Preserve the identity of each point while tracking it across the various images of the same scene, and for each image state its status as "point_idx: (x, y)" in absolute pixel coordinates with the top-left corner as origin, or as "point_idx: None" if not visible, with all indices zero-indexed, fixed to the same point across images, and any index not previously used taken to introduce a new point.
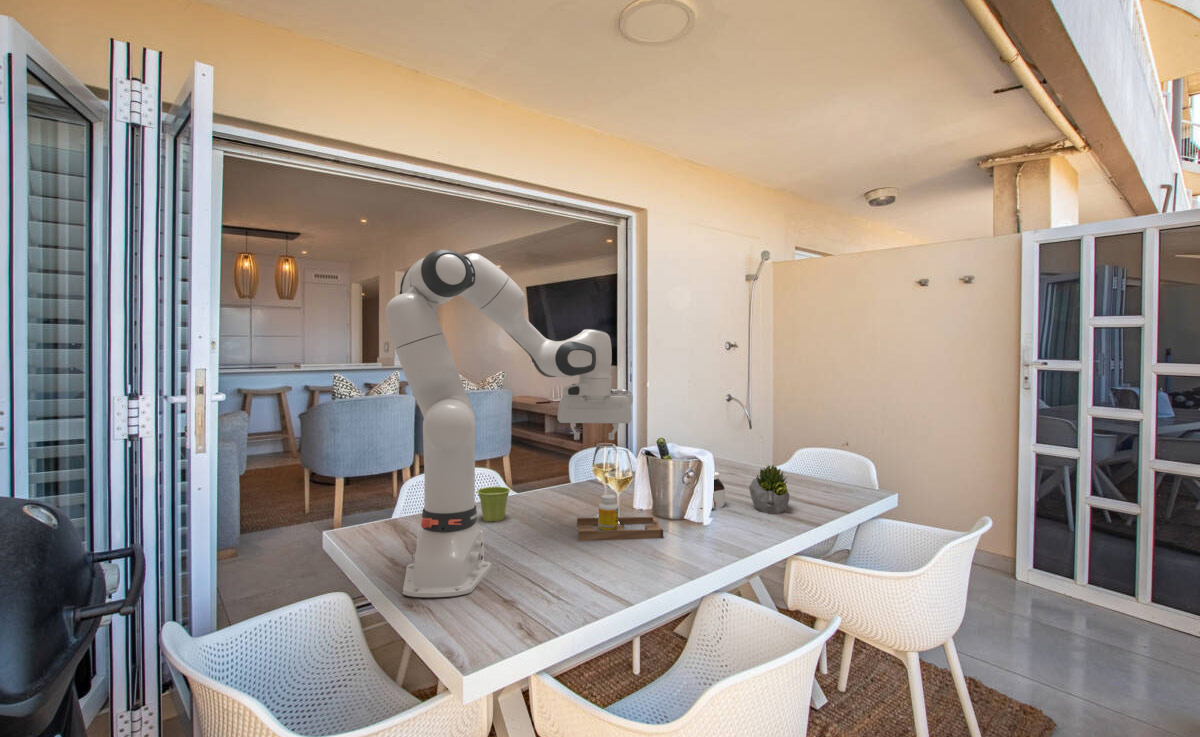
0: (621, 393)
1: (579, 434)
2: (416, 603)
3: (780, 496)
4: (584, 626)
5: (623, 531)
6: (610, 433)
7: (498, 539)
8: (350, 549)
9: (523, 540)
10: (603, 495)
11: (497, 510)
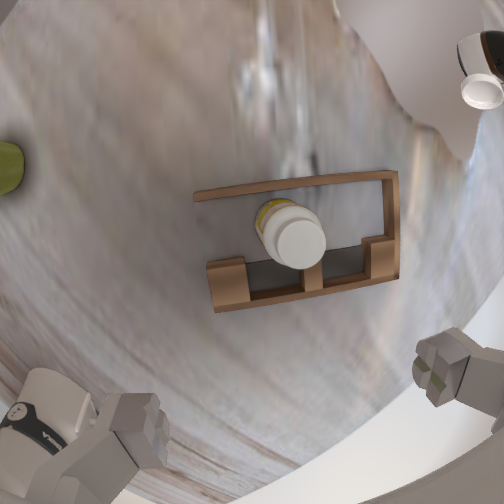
0: None
1: (164, 461)
2: None
3: None
4: (256, 491)
5: (318, 295)
6: (448, 395)
7: (58, 301)
8: None
9: (101, 305)
10: (284, 234)
11: (3, 192)
